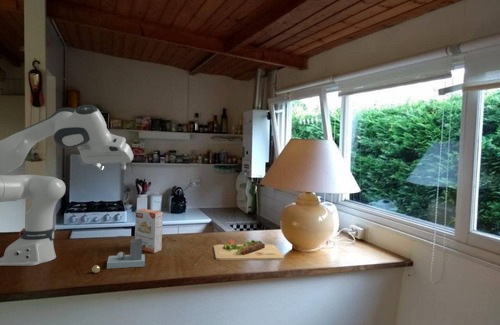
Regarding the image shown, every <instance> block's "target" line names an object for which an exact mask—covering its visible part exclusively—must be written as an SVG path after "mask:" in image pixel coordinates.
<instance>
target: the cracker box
mask: <svg viewBox="0 0 500 325" xmlns="http://www.w3.org/2000/svg"><path fill="white" fill-rule="evenodd" d="M163 213H164V212H163V211H159V210H153V209H146V208H140V209H136V210H135V219H134V221H135V222H134V224H135V225H134V226H135V227H134V239H142V252H143V251H144V252H147V253H151V254H155V253H158V252H162V246H163V245H162V244H163V242H162V241H163V215H164V214H163Z"/></svg>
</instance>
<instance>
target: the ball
mask: <svg viewBox="0 0 500 325" xmlns="http://www.w3.org/2000/svg"><path fill="white" fill-rule="evenodd" d="M125 255H126V254H125V252H124V251H119V252H118V253H117V255H116V256H117V257H118V258H119V259H123V258H124V256H125Z"/></svg>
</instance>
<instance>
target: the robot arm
mask: <svg viewBox="0 0 500 325" xmlns="http://www.w3.org/2000/svg"><path fill="white" fill-rule="evenodd" d="M51 136H53V139H54V142H55V144H56V145H57V146H59V147H61V148H64V149H75V148H77V150H78V151H79V154H80V158H81V160H82V162H83V163H85V164H86V165H91V164H92V165H93V166H95V167H96V168H98V170H99V171H104V170H105V166H104V164H121V166H120V169H121V171H124V170H125V171H126V170H127V165H126V164H128V163H132V161H133V159H134V153H133V150H132V148H131V146H130V145H129V144H128V143H127V140H126V137H124V136H122V135H121V136H120V135H116V134H113V133H111V132H110V131H109V130H108V128H107V122H106V121H105V118H104V116H103V115H102V113H101V111H100V110H99V108H97V107H96V106H94V105H91V104H84V105H80V106H78V107H76V108H73V107H70V106H69V107H61V108H59V109H57V110H56V111H55V112H54V113H53V114H52V115H50V116H49V117H47V118H45V119H43V120H41V121H38V122H36V123H33V124H32V125H29V126H27V127H25V128H23V129H21V130H19V131H17V132H15V133H12V134H11V135H10V136H8V137H6V138H3V139H0V203H3V202H4V203H5V202H17V201H18V200H26V199H28V200H29V199H31V200H32V203H31V204H32V205H31V206H30V208H29V209H27V211H26V212H25V215H24V228H23V227H22V229H21V230H20V231H19V233H18V236H19V238H18V239H17V240H15V241H13V242H12V243H11V244H9V245H7V247H6V248H5V251H4V254H3V256H2V257H0V266H31V267H32V266H37V265H39V264H43V263H47V262H51V261H53V260H55V259H56V258H57V255H56V251H55V247H54V246H55V245H54V239H55V228H54V212H55V208H56V206H57V204H58V202H59V200H60V199H61V198H63V197H64V195H65V194H66V183H65V182H64V181H63V180H61V179H59V178H57V177H55V176H51V175H50V176H49V175H40V174H16V175H15V174H14V175H13V174H12V175H11V174H9V173H10V172H13V171H15V170H16V169H18V168H19V167H21V166H22V165H23V164H24V162H25V160H26V158H27V157H28V154H29V152H30V150H31V149H32V148H33V147H34V146H35V145H36V144H37V143H39V142H41V141H43V140H44V139H47V138H49V137H51ZM6 174H7V175H6ZM8 174H9V175H8Z"/></svg>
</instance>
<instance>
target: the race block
mask: <svg viewBox="0 0 500 325" xmlns="http://www.w3.org/2000/svg"><path fill="white" fill-rule="evenodd" d="M129 246H130V247H129V255H130V260H141V259H142V254H143V250H142V239H135V238H133V239H132V238H131V239H130V245H129Z"/></svg>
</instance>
